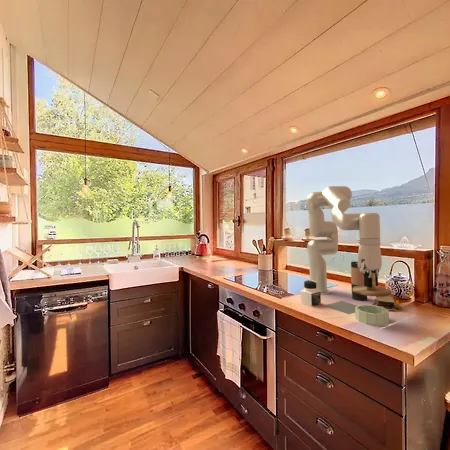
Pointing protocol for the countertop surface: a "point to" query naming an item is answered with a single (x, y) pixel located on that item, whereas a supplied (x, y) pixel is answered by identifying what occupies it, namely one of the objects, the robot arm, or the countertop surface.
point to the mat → (342, 307)
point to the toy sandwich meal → (388, 303)
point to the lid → (372, 289)
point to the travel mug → (357, 281)
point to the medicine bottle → (310, 294)
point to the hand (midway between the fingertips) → (371, 285)
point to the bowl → (372, 315)
